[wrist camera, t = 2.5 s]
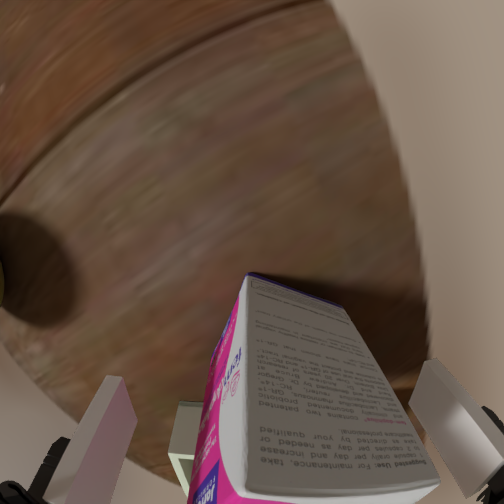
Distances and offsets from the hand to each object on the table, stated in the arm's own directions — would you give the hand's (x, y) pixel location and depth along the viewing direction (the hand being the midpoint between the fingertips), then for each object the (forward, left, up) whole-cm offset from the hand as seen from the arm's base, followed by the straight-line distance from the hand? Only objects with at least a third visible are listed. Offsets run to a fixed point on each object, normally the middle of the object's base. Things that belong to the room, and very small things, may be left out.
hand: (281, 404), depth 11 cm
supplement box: (0, 0, -5) cm, 5 cm away
